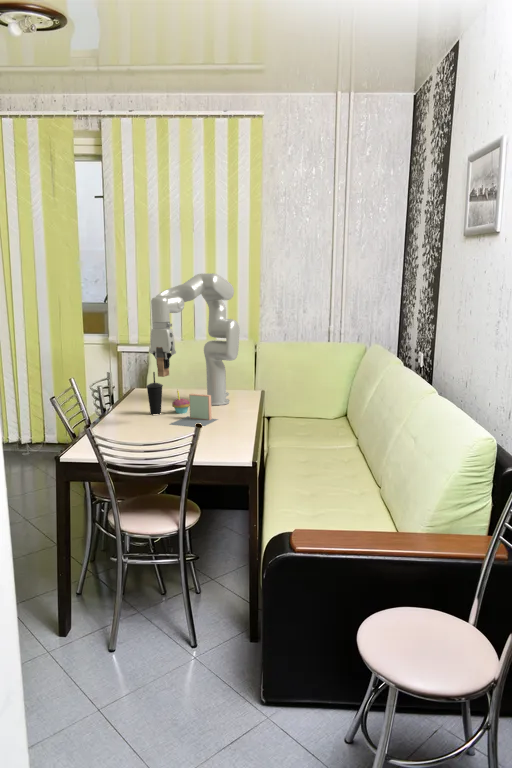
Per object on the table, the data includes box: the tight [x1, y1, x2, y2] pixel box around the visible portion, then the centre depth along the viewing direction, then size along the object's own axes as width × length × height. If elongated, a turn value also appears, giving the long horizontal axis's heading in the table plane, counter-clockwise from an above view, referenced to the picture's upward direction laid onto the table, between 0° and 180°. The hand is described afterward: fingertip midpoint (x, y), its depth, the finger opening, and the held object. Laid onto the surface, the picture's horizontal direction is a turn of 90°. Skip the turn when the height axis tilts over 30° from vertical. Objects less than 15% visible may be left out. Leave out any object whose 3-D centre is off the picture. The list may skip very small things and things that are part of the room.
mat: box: [168, 415, 219, 428], centre depth 274 cm, size 16×16×1 cm
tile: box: [188, 393, 213, 420], centre depth 278 cm, size 2×10×11 cm, turn 65°
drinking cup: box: [145, 371, 164, 415], centre depth 291 cm, size 8×8×20 cm
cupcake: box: [171, 389, 190, 414], centre depth 291 cm, size 9×8×12 cm
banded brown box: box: [156, 347, 170, 378], centre depth 271 cm, size 5×3×14 cm
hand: (163, 367), depth 272 cm, fingers closed on banded brown box, 3 cm apart
